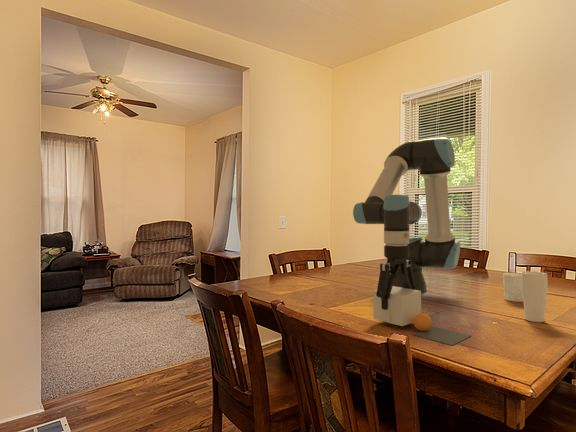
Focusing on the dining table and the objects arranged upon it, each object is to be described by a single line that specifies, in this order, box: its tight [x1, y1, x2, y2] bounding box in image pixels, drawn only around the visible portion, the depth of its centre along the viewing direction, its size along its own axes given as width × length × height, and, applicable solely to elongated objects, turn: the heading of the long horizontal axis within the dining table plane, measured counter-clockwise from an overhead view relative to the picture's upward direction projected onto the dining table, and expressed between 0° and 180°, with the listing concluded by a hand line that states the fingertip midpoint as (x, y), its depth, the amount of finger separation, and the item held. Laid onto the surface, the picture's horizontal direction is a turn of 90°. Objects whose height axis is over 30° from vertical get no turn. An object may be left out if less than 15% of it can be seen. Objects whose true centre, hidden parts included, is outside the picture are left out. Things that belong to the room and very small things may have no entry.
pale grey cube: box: [372, 286, 422, 327], centre depth 114 cm, size 10×10×9 cm
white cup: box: [502, 272, 523, 303], centre depth 143 cm, size 8×8×10 cm
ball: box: [413, 312, 433, 332], centre depth 107 cm, size 5×5×5 cm
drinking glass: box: [521, 270, 548, 323], centre depth 116 cm, size 7×7×15 cm
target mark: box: [413, 326, 472, 346], centre depth 103 cm, size 11×11×1 cm
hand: (397, 316), depth 114 cm, fingers closed on pale grey cube, 10 cm apart
